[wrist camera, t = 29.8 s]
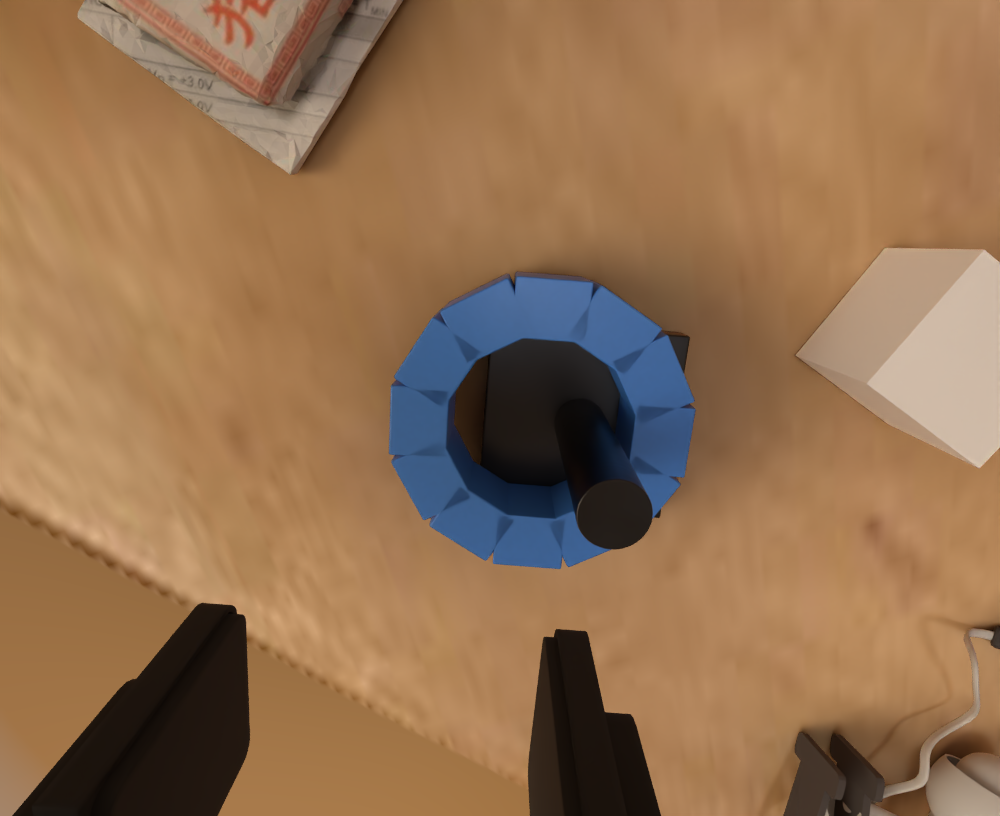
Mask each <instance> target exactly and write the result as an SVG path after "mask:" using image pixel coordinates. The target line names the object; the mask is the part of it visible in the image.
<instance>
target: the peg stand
mask: <svg viewBox="0 0 1000 816" xmlns="http://www.w3.org/2000/svg"><path fill="white" fill-rule="evenodd" d="M661 332H663V333H665V334H666V335H668V337H669V339H670V342H671V344H672V347H673V349H674V351H675V354H676V356H677V359H678V361H679V364H680V366H681V368H682V371H683V373H684V370H685V364H686V358H687V352H688V346H689V340H690V337H689V336H687V335H685V334H683V333H678V332H666V331H661ZM619 401H620V393H619V390H618V388H617V386H616V384H615V381H614V379H613V377H612V375H611V372H610V370H609V368H608V366H607V365H606V364H605V363H603V362H602V361H601V360H599V359H598V358H596V357H595V356H593V355H592V354H591V353H589V352H588V351H586V350H585V349H583V348H582V347H580V346H579V345H578V344H576V343H575V342H563V341H550V340H537V339H524V338H523V339H521V340H519V341H517V342H515V343H512V344H510V345H508V346H506V347H504V348H502V349H500V350H498V351H495V352H493V353H491V354H489V363H488V375H487V388H486V400H485V413H484V425H483V438H482V450H481V463H480V466H482V467H483V468H485V469H486V470H488V471H490V472H491V473H493V474H494V475H496V476H497V477H499V478H500V479H502V480H504V481H505V482H507V483H510V484H523V485H536V486H549V487H551V486H554V485H556V484H558V483H560V482H563V481H565V480H567V483H568V488H569V492H570V496H571V500H572V505H573V509H574V513H575V517H576V522H577V525H578V528H579V530H580V532H581V534H582V535H583V536H584V537H585V538H586V539H587V540H588V541H589V542H590V543H592V544H594V545H596V546H598V547H601V548H604V549H622V548H625V547H628V546H631V545H633V544H634V543H636V542H638V541H639V540H640V539H641V538H642V537H643V536H644V535H645V534H646V532H647V531H648V529H649V527H650V525H651V522H652V517H653V508H652V503H651V501H650V498H649V497H648V495H647V493H646V491H645V489H644V487H643V485H642V484H641V482H640V480H639V478H638V476H637V474H636V472H635V471H634V469H633V467H632V465H631V463H630V461H629V460H628V458H627V456H626V454H625V452H624V450H623V448H622V447H621V445H620V443H619V441H618V439H617V437H616V436H615V431H616V424H617V416H618V409H619ZM660 513H661V509H660V510H659V512H658V513H657V514H656V515H655V516H654V517H655V518H659V517H660Z"/></svg>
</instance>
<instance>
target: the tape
mask: <svg viewBox="0 0 1000 816" xmlns="http://www.w3.org/2000/svg"><path fill="white" fill-rule="evenodd" d="M661 330H662V328H661V327H660V326H659V325H657V324H656V323H654V322H653V321H652V320H650V319H649V318H647V317H646V316H645V315H643V314H642V313H640V312H639V311H638V310H636V309H635V308H633V307H632V306H631V305H629V304H628V303H626V302H625V301H624V300H622V299H621V298H619V297H618V296H617V295H615V294H614V293H612V292H611V291H610V290H608V289H607V288H606V287H604V286H603V285H600V284H598V283H596V282H594V281H592V280H588V279H586V278H584V277H580V276H567V275H555V274H542V273H529V272H516V273H515V283H514V284H513V281H512V279H511V277H510V275H509V274H505V275H503V276H501V277H499V278H497V279H495V280H493V281H491V282H489V283H487V284H485V285H482V286H480V287H478V288H476V289H474V290H472V291H470V292H468V293H466V294H464V295H462V296H460V297H458V298H456V299H454V300H452V301H450V302H449V303H448V304H447V305H446V306H445V307H444V308H442V309H441V310H440V311H439V312H438V313H437V314H436V315H435V316H434V317H433V318H432V319H431V320H430V322H429V323H428V325H427V326H426V328H425V329H424V331H423V333H422V334H421V336H420V337H419V339H418V340H417V342H416V343H415V345H414V346H413V348H412V349H411V351H410V353H409V354H408V356H407V357H406V359H405V360H404V362H403V363H402V365H401V366H400V368H399V369H398V371H397V372H396V374H395V376H394V378H395V379H396V381H395V382H394V383H393V384H392V385H391V400H390V434H389V454H391V455H395V456H394V458H393V459H392V461H391V463H392V465H393V466H394V468H395V470H396V472H397V474H398V475H399V477H400V479H401V481H402V483H403V484H404V486H405V488H406V490H407V492H408V493H409V495H410V497H411V499H412V501H413V502H414V504H415V506H416V508H417V510H418V511H419V513H420V515H421V517H422V519H423V520H426V519H428V518H431V517H432V518H431V521H430V527H432V528H433V529H435V530H436V531H438V532H440V533H441V534H443V535H445V536H446V537H448V538H449V539H451V540H453V541H454V542H456V543H457V544H459V545H461V546H462V547H464V548H466V549H467V550H469V551H470V552H472V553H474V554H475V555H477V556H478V557H480V558H482V559H483V560H485V561H486V560H487V559H488V558H489V557H490V555H491V554H492V553H493V564H502V565H515V566H528V567H541V568H554V569H561V564H562V557H563V559H564V561H565V563H566V565H567V566H568V567H570V566H573V565H575V564H578V563H580V562H583V561H585V560H587V559H590V558H592V557H595V556H597V555H599V554H602V553H604V552H607V551H609V550H611V549H604V548H601V547H598V546H596V545H594V544H592V543H590V542H589V541H588V540H587V539H586V538H585V537H584V536H583V535H582V534H581V532H580V530H579V528H578V525H577V522H576V517H575V513H574V509H573V505H572V500H571V496H570V492H569V488H568V483H567V480H565V481H563V482H560V483H558V484H556V485H554V486H551V487H549V486H536V485H523V484H510V483H507V482H505V481H504V480H502V479H500V478H499V477H497V476H496V475H494V474H493V473H491V472H490V471H488V470H486V469H485V468H483V467H482V466H480V465H479V464H477V463H476V462H474V461H473V459H472V457H471V456H470V454H469V452H468V450H467V448H466V446H465V444H464V442H463V440H462V438H461V436H460V434H459V432H458V431H457V429H456V427H455V425H454V418H455V401H456V390H457V389H458V387H459V386H460V384H461V383H462V382H463V380H464V379H465V377H466V376H467V374H468V373H469V371H470V370H471V368H472V367H473V365H474V364H475V363H476V361H477V360H479V359H481V358H483V357H485V356H487V355H489V354H491V353H493V352H495V351H498V350H500V349H502V348H504V347H506V346H508V345H510V344H512V343H515V342H517V341H519V340H521V339H523V338H524V339H537V340H550V341H563V342H575V343H576V344H578V345H579V346H580V347H582V348H583V349H585V350H586V351H588V352H589V353H591V354H592V355H593V356H595V357H596V358H598V359H599V360H601V361H602V362H603V363H605V364H606V365H607V366H608V368H609V370H610V372H611V375H612V377H613V379H614V381H615V384H616V386H617V388H618V390H619V393H620V401H619V409H618V416H617V424H616V431H615V436H616V437H617V439H618V441H619V443H620V445H621V447H622V448H623V450H624V452H625V454H626V456H627V458H628V460H629V461H630V463H631V465H632V467H633V469H634V471H635V472H636V474H637V476H638V478H639V480H640V482H641V484H642V485H643V487H644V489H645V491H646V493H647V495H648V497H649V498H650V501H651V503H652V508H653V517H652V519H653V518H654V516H655V515H656V514H657V513H658V512H659V510H660V509H661V508H662V507H663V505H664V504H665V503H666V502H667V501H668V499H669V498H670V497H671V496H672V495H673V493H674V492H675V491H676V490H677V488H678V487H679V486H680V482H679V481H678V480H677V478H676V477H684V476H685V470H686V464H687V458H688V452H689V446H690V440H691V434H692V428H693V422H694V416H695V408H694V407H693V406H692V405H690V403H692V402H694V401H695V400H694V398H693V395H692V393H691V390H690V388H689V385H688V383H687V381H686V378H685V376H684V373H683V371H682V368H681V366H680V364H679V361H678V359H677V356H676V354H675V351H674V349H673V347H672V344H671V342H670V339H669V337H668V335H666V334H665V333H663V332H661Z"/></svg>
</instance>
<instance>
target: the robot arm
mask: <svg viewBox="0 0 1000 816" xmlns="http://www.w3.org/2000/svg"><path fill="white" fill-rule="evenodd" d="M247 670H248V668H247V638H246V619H245V616H244V615H241V614H237V611H236V608H235V607H234V606H233V605H222V604H208V603H201V604H198V605H197V606H196V607H195V608H194V610H193V611H192V612H191V613H190V615H189V616H188V617H187V618H186V619H185V620H184V622H183V623H182V624H181V625H180V627H179V628H178V629H177V630H176V631H175V633H174V634H173V635H172V636H171V637H170V639H169V640H168V641H167V642H166V644H165V645H164V646H163V647H162V648H161V650H160V651H159V652H158V653H157V655H156V656H155V657H154V658H153V659H152V661H151V662H150V663H149V664H148V666H147V667H146V668H145V669H144V670H143V671H142V673H141V674H140V675H139V676H138V678H137V679H132V680H130V681H128V682H126V683H125V684H124V685H123V686H122V687H121V688H120V689H119V690H118V691H117V692H116V694H115V695H114V696H113V697H112V698H111V699H110V701H109V702H108V703H107V704H106V705H105V707H104V708H103V709H102V710H101V711H100V712H99V714H98V715H97V716H96V717H95V719H94V720H93V721H92V722H91V723H90V724H89V726H88V727H87V728H86V729H85V730H84V731H83V733H82V734H81V735H80V736H79V738H78V739H77V740H76V741H75V742H74V743H73V745H72V746H71V747H70V748H69V749H68V750H67V752H66V753H65V754H64V755H63V756H62V757H61V759H60V760H59V761H58V762H57V763H56V765H55V766H54V767H53V768H52V769H51V771H50V772H49V773H48V774H47V775H46V777H45V778H44V779H43V780H42V781H41V782H40V784H39V785H38V786H37V787H36V788H35V790H34V791H33V792H32V793H31V794H30V795H29V797H28V798H27V799H26V800H25V801H24V803H23V804H22V805H21V806H20V807H19V809H18V810H17V811H16V812H15V813H14V814H13V816H218V814H219V812H220V809H221V807H222V805H223V803H224V801H225V799H226V797H227V795H228V793H229V791H230V789H231V787H232V785H233V783H234V781H235V779H236V777H237V775H238V773H239V771H240V769H241V767H242V765H243V763H244V760H245V758H246V755H247V751H248V747H249V741H250V726H249V696H248V671H247ZM528 785H529V803H530V804H529V806H530V816H661V814H660V810H659V807H658V803H657V800H656V796H655V792H654V789H653V785H652V781H651V778H650V774H649V771H648V767H647V763H646V760H645V756H644V752H643V749H642V745H641V742H640V738H639V734H638V731H637V727H636V724H635V721H634V718H633V717H632V716H631V714H620V713H606V712H605V711H604V707H603V702H602V697H601V693H600V688H599V684H598V679H597V674H596V670H595V665H594V661H593V656H592V651H591V647H590V642H589V638H588V634H587V632H586V631H575V630H561V629H556V630H555V634H554V637H544V638H543V644H542V652H541V660H540V669H539V677H538V685H537V694H536V702H535V710H534V719H533V727H532V735H531V744H530V752H529V763H528Z"/></svg>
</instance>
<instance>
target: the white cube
mask: <svg viewBox="0 0 1000 816" xmlns="http://www.w3.org/2000/svg"><path fill="white" fill-rule="evenodd" d="M795 356H797V357H798V358H800V359H801V360H802V361H804V362H805V363H806V364H808V365H809V366H810V367H812V368H813V369H814V370H816V371H817V372H818V373H820V374H821V375H822V376H824V377H825V378H826V379H828V380H829V381H830V382H832V383H833V384H835V385H836V386H837V387H839V388H840V389H841V390H843V391H844V392H845V393H847V394H848V395H849V396H851V397H852V398H853V399H855V400H856V401H857V402H859V403H860V404H861V405H863V406H864V407H865V408H867V409H868V410H870V411H871V412H872V413H874V414H875V415H876V416H878V417H879V418H880V419H882V420H883V421H884V422H886V423H887V424H888V425H891V426H893V427H895V428H897V429H899V430H901V431H903V432H905V433H907V434H909V435H911V436H913V437H915V438H917V439H920V440H922V441H924V442H926V443H928V444H930V445H932V446H934V447H936V448H938V449H940V450H942V451H944V452H946V453H948V454H951V455H953V456H955V457H957V458H959V459H961V460H963V461H965V462H967V463H969V464H971V465H973V466H975V467H977V468H980V467H981V466H982V465H983V464H984V463H985V462H986V461H987V460H988V459H989V458H990V457H991V456H992V455H993V454H994V453H995V452H996V451H997V450H998V449H999V448H1000V262H999V261H997V260H996V259H995V258H994V257H993V256H991V255H990V254H989V253H988V252H986V251H985V250H976V249H916V248H884V250H883V251H882V252H881V253H880V254H879V256H878V257H877V258H876V259H875V260H874V262H873V263H872V264H871V265H870V266H869V268H868V269H867V270H866V271H865V272H864V274H863V275H862V276H861V277H860V278H859V280H858V281H857V282H856V283H855V284H854V286H853V287H852V288H851V289H850V290H849V292H848V293H847V294H846V295H845V296H844V298H843V299H842V300H841V301H840V302H839V304H838V305H837V306H836V307H835V308H834V310H833V311H832V312H831V313H830V314H829V316H828V317H827V318H826V319H825V320H824V322H823V323H822V324H821V325H820V326H819V328H818V329H817V330H816V331H815V332H814V334H813V335H812V336H811V337H810V338H809V340H808V341H807V342H806V343H805V344H804V345H803V347H802V348H801V349H800V350H799V351H798V353H797V354H796V355H795Z"/></svg>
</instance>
